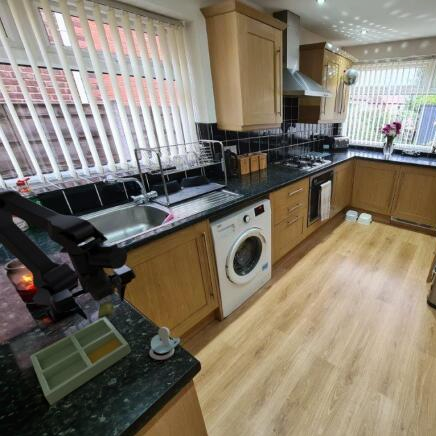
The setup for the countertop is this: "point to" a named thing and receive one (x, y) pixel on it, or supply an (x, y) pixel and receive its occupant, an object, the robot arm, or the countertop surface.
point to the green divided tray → (78, 358)
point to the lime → (106, 308)
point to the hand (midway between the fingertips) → (105, 309)
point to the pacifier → (163, 344)
